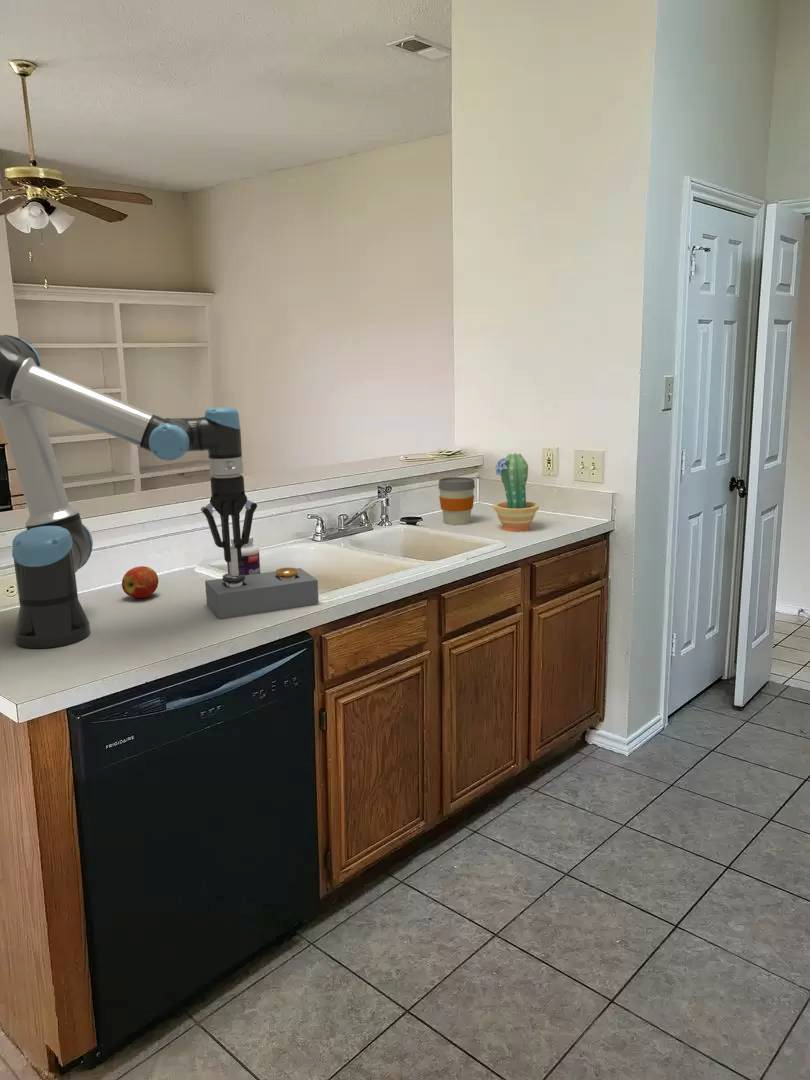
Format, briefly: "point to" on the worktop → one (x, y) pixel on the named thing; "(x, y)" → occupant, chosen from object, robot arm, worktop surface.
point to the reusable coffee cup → (456, 499)
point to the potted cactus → (514, 494)
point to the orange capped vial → (286, 573)
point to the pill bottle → (248, 558)
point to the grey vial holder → (261, 594)
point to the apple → (140, 582)
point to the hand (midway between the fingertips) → (234, 574)
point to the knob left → (233, 580)
